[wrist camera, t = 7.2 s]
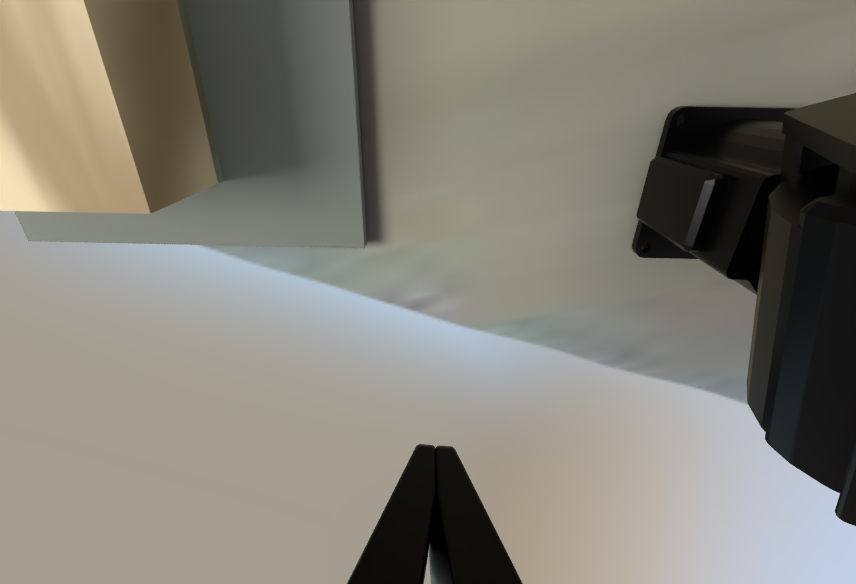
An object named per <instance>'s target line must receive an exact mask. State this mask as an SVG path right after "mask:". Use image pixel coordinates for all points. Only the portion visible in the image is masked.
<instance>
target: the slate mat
mask: <svg viewBox="0 0 856 584" xmlns="http://www.w3.org/2000/svg"><path fill="white" fill-rule="evenodd" d="M184 2H185V7H186V11H187V16H188V21H189V25H190V30H191V34H192V39H193V43H194V48H195V53H196V57H197V62H198V66H199V71H200V75H201V80H202V84H203V89H204V94H205V98H206V103H207V107H208V112H209V116H210V121H211V126H212V130H213V135H214V139H215V144H216V148H217V153H218V157H219V162H220V167H221V171H222V176H223V180H224V181H223V182H220V183H218V184H216V185H214V186H212V187H209V188H207V189H205V190H203V191H200V192H198V193H196V194H194V195H191V196H189V197H187V198H185V199H183V200H180V201H178V202H176V203H174V204H171V205H169V206H167V207H165V208H162V209H160V210H158V211H156V212H153V213H151V214H137V213H88V212H39V211H15V214H16V216H17V218H18V220H19V222H20V224H21V226H22V228H23V230H24V233H25V235H26V237H27V239H28V241H50V242H52V241H54V242H97V243H98V242H99V243H101V242H102V243H144V244H147V243H148V244H190V245H237V246H283V247H330V248H365V246H366V244H367V233H366V216H365V199H364V182H363V165H362V148H361V131H360V114H359V97H358V80H357V63H356V46H355V29H354V12H353V0H184Z"/></svg>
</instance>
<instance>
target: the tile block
mask: <svg viewBox="0 0 856 584" xmlns="http://www.w3.org/2000/svg"><path fill="white" fill-rule="evenodd" d="M223 181H224V180H223V176H222V171H221V167H220V162H219V157H218V153H217V148H216V144H215V139H214V135H213V130H212V126H211V121H210V116H209V112H208V107H207V103H206V98H205V94H204V89H203V84H202V80H201V75H200V71H199V66H198V62H197V57H196V53H195V48H194V43H193V39H192V34H191V30H190V25H189V21H188V16H187V11H186V7H185V2H184V0H0V211H39V212H88V213H137V214H151V213H153V212H156V211H158V210H160V209H162V208H165V207H167V206H169V205H171V204H174V203H176V202H178V201H180V200H183V199H185V198H187V197H189V196H191V195H194V194H196V193H198V192H200V191H203V190H205V189H207V188H209V187H212V186H214V185H216V184H218V183H220V182H223Z"/></svg>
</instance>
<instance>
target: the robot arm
mask: <svg viewBox="0 0 856 584" xmlns="http://www.w3.org/2000/svg"><path fill="white" fill-rule="evenodd" d="M681 114H683V115H684V121H683V123H682V124H681V125H679V126H678V125H677V119H678V117H679V116H680V115H681ZM637 217H638V219H639V221H638V225H637V229H636V232H635V236H634V240H633V243H632V249H633V252H635V253H636V254H637V255H638V256H640V257H643V258H685V259H700V260H702V261H703V262H705V263H706V264H708V265H709V266H711V267H712V268H714V269H715V270H717V271H718V272H720V273H721V274H723V275H724V276H726V277H727V278H729V279H733V280H735V281H736V282H738V283H739V284H741V285H742V286H744V287H745V288H747V289H748V290H750V291H752V292H753V293H755V294H756V295H757V300H756V309H755V317H754V326H753V334H752V343H751V351H750V360H749V368H748V377H747V401H748V405H749V406H750V408H751V410H752V411H753V413H754V415H755V417H756V419H757V420H758V422H759V424H760V426H761V427H762V428H763V430H764V431H765V432H766V434H765V440H766V441H767V443H768V444H769V445H770V446H771V447H772V448H773V449H774V450H775V451H777V452H778V453H779V454H780V455H781V456H782V457H783V458H784V459H786V460H787V461H788V462H789V463H790V464H792V465H793V466H795V467H796V468H798V469H800V470H801V471H803V472H804V473H806V474H807V475H809V476H810V477H812V478H814V479H815V480H817V481H818V482H820V483H821V484H823V485H825V486H827V487H828V488H830V489H832V490H834V491H836V492H839V493H840V496H839V499H838V503H837V506H836V509H835V513H836V515H837V516H838V517H839V518H840V519H841V520H842V521H844V522H847V523H849V524H852V525H855V526H856V93H854V94H851V95H847V96H843V97H839V98H836V99H832V100H828V101H824V102H821V103H817V104H813V105H809V106H805V107H802V108H751V107H694V106H681V107H676V108H675V109H673V110H671V112H670V113H669V114H668V116H667V118H666V120H665V124H664V128H663V132H662V135H661V139H660V143H659V146H658V150H657V154H656V157H655V158H654V159H653V160H652V161H651V162H650V166H649V170H648V174H647V177H646V181H645V185H644V189H643V193H642V196H641V200H640V204H639V208H638V212H637ZM645 243H648V246H647V248H645V249H643V250H641V247H642V245H643V244H645ZM428 551H429V557H430V575H431V584H522V582H521V580H520V578H519V576H518V574H517V572H516V570H515V568H514V566H513V564H512V562H511V560H510V558H509V556H508V554H507V552H506V550H505V548H504V546H503V544H502V542H501V540H500V538H499V536H498V534H497V532H496V530H495V528H494V526H493V524H492V522H491V520H490V518H489V516H488V514H487V512H486V510H485V508H484V506H483V504H482V502H481V500H480V498H479V496H478V494H477V492H476V490H475V488H474V486H473V484H472V482H471V480H470V478H469V476H468V474H467V472H466V470H465V468H464V466H463V464H462V462H461V460H460V458H459V456H458V454H457V452H456V450H455V449H454V448H453V447H451V446H450V447H449V446H437V447H436V448H435V447H434V446H433V445H424V444H419V445H417V446H416V448H415V450H414V452H413V454H412V456H411V458H410V460H409V462H408V464H407V466H406V468H405V470H404V472H403V474H402V476H401V478H400V480H399V482H398V483H397V485H396V487H395V489H394V491H393V493H392V496H391V497H390V499H389V502H388V503H387V506H386V507H385V509H384V511H383V513H382V515H381V517H380V519H379V521H378V523H377V525H376V527H375V529H374V531H373V533H372V535H371V537H370V539H369V541H368V543H367V545H366V547H365V549H364V551H363V553H362V555H361V557H360V559H359V561H358V563H357V565H356V567H355V569H354V571H353V573H352V575H351V577H350V579H349V581H348V583H347V584H424V578H425V571H426V564H427V557H428Z"/></svg>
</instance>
